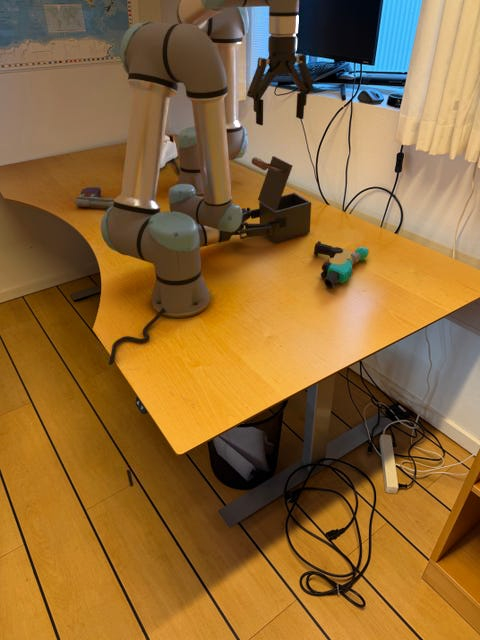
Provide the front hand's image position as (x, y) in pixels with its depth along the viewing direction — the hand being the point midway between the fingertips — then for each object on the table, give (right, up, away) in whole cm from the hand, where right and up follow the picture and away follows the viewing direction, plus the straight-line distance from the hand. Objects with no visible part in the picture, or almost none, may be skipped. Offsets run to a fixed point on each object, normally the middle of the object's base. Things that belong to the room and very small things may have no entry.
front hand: (277, 216), depth 153 cm
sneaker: (-49, +38, +64) cm, 89 cm away
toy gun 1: (-65, +11, +28) cm, 71 cm away
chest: (+3, -4, +5) cm, 7 cm away
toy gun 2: (+15, -19, -15) cm, 28 cm away
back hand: (-1, +23, -17) cm, 29 cm away
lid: (-1, +9, -7) cm, 11 cm away
